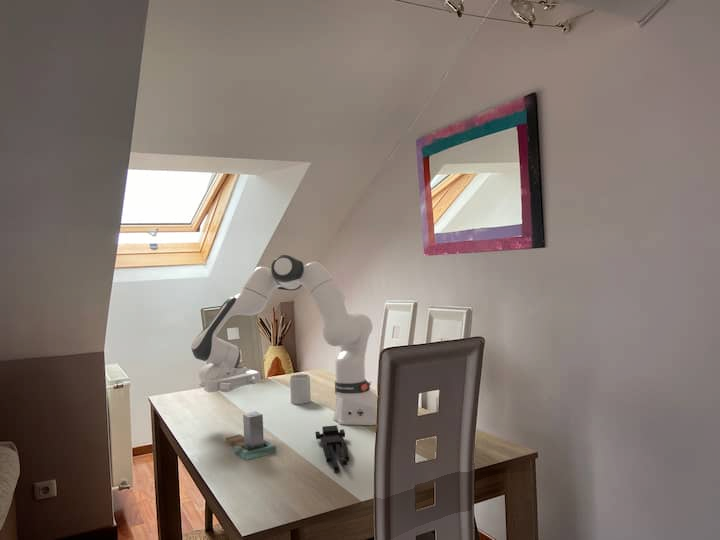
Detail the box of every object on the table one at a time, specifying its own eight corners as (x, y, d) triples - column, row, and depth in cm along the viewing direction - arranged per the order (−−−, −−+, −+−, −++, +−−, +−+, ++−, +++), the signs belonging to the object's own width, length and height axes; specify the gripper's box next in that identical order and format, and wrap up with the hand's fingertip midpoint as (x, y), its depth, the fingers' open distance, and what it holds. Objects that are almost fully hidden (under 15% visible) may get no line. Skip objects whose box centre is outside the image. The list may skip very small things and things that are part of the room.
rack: (219, 443, 182) (219, 437, 182) (246, 437, 188) (246, 431, 188) (247, 460, 166) (246, 453, 166) (275, 452, 172) (275, 445, 172)
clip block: (244, 451, 173) (243, 414, 173) (257, 448, 176) (255, 411, 176) (251, 455, 170) (249, 417, 170) (264, 452, 173) (262, 414, 172)
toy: (357, 475, 154) (343, 438, 184) (357, 459, 154) (343, 424, 183) (324, 479, 152) (315, 440, 182) (323, 462, 152) (315, 426, 182)
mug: (313, 402, 231) (312, 377, 230) (293, 405, 228) (292, 379, 228) (306, 396, 242) (305, 372, 242) (287, 398, 239) (286, 374, 239)
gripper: (196, 375, 191) (213, 380, 181) (249, 366, 204) (267, 369, 194) (197, 393, 191) (214, 399, 181) (250, 382, 204) (268, 387, 194)
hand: (242, 384), depth 187 cm, fingers open, 8 cm apart
